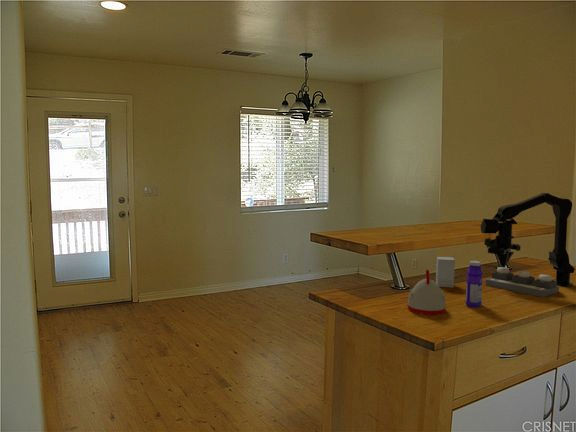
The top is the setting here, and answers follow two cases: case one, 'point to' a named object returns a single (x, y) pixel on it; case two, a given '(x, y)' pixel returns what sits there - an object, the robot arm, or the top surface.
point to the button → (503, 270)
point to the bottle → (474, 285)
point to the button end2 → (545, 278)
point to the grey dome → (427, 298)
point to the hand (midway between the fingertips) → (503, 267)
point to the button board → (523, 284)
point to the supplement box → (445, 271)
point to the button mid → (523, 274)
